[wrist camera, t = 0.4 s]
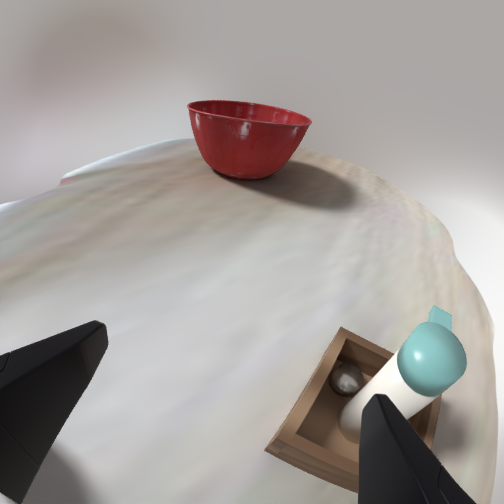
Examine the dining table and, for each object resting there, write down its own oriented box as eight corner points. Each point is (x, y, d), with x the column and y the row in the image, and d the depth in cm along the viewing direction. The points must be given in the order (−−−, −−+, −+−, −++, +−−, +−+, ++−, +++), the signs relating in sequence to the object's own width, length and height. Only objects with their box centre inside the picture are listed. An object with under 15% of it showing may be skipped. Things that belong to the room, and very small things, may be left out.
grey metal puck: (360, 395, 23) (366, 390, 23) (330, 396, 23) (335, 391, 23) (355, 369, 26) (360, 363, 25) (327, 368, 26) (331, 362, 25)
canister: (373, 451, 19) (465, 390, 11) (329, 432, 20) (407, 363, 13) (392, 397, 23) (465, 321, 16) (354, 378, 25) (418, 296, 18)
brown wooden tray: (386, 502, 15) (416, 494, 12) (264, 450, 19) (276, 437, 17) (419, 398, 24) (443, 378, 21) (325, 351, 29) (340, 326, 26)
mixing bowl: (172, 188, 54) (177, 111, 45) (189, 147, 76) (194, 96, 67) (310, 202, 58) (328, 132, 49) (285, 158, 81) (296, 109, 72)
